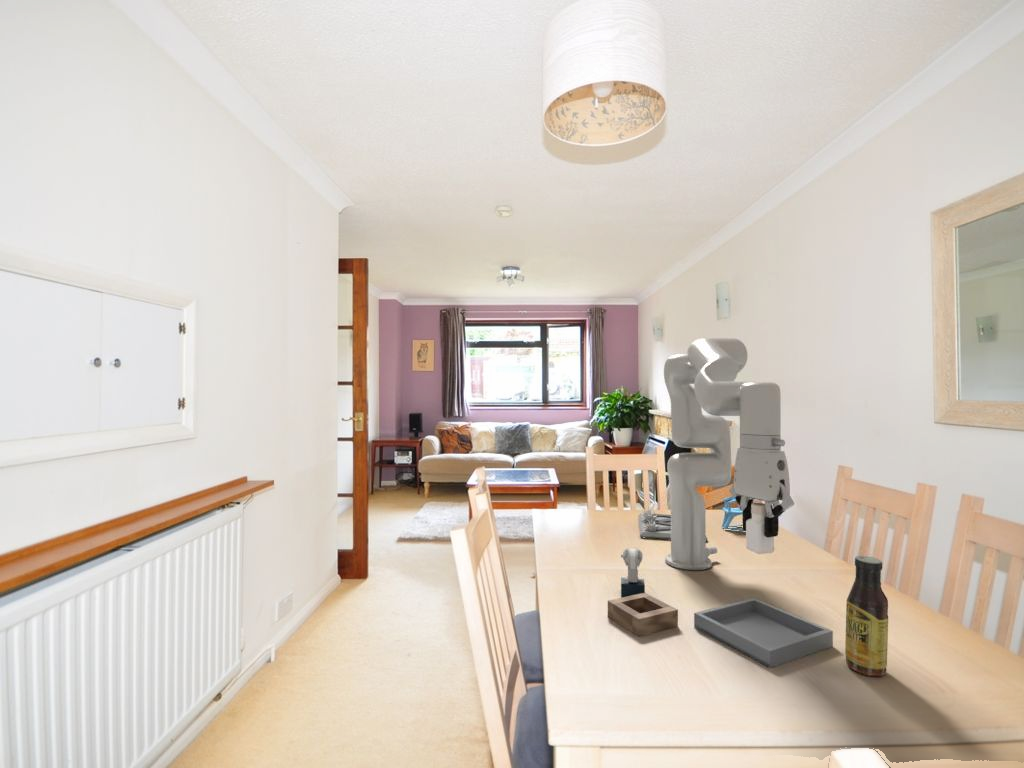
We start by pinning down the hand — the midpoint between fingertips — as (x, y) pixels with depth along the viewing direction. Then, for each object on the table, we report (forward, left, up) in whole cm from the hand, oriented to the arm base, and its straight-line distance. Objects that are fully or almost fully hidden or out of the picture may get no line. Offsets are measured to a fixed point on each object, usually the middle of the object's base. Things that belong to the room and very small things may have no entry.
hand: (760, 532), depth 107 cm
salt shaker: (0, 0, -4) cm, 4 cm away
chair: (-62, -60, -21) cm, 89 cm away
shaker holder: (+17, -16, -21) cm, 31 cm away
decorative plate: (-42, -71, -22) cm, 85 cm away
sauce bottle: (-6, +17, -21) cm, 28 cm away
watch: (+9, -29, -21) cm, 37 cm away
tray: (0, 0, -21) cm, 21 cm away
